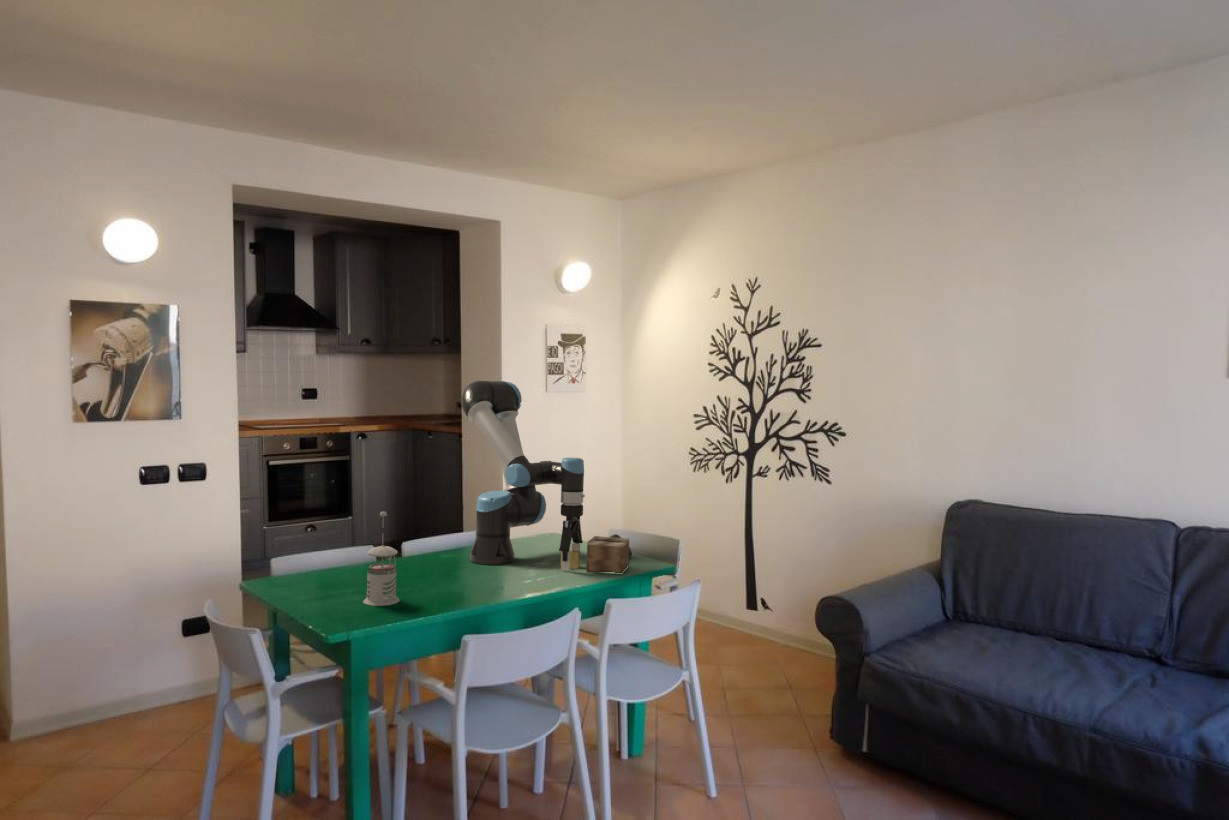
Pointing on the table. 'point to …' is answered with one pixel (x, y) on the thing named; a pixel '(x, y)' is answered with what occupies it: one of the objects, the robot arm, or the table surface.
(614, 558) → the coin box
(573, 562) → the yellow flat block
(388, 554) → the french press
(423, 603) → the table surface
